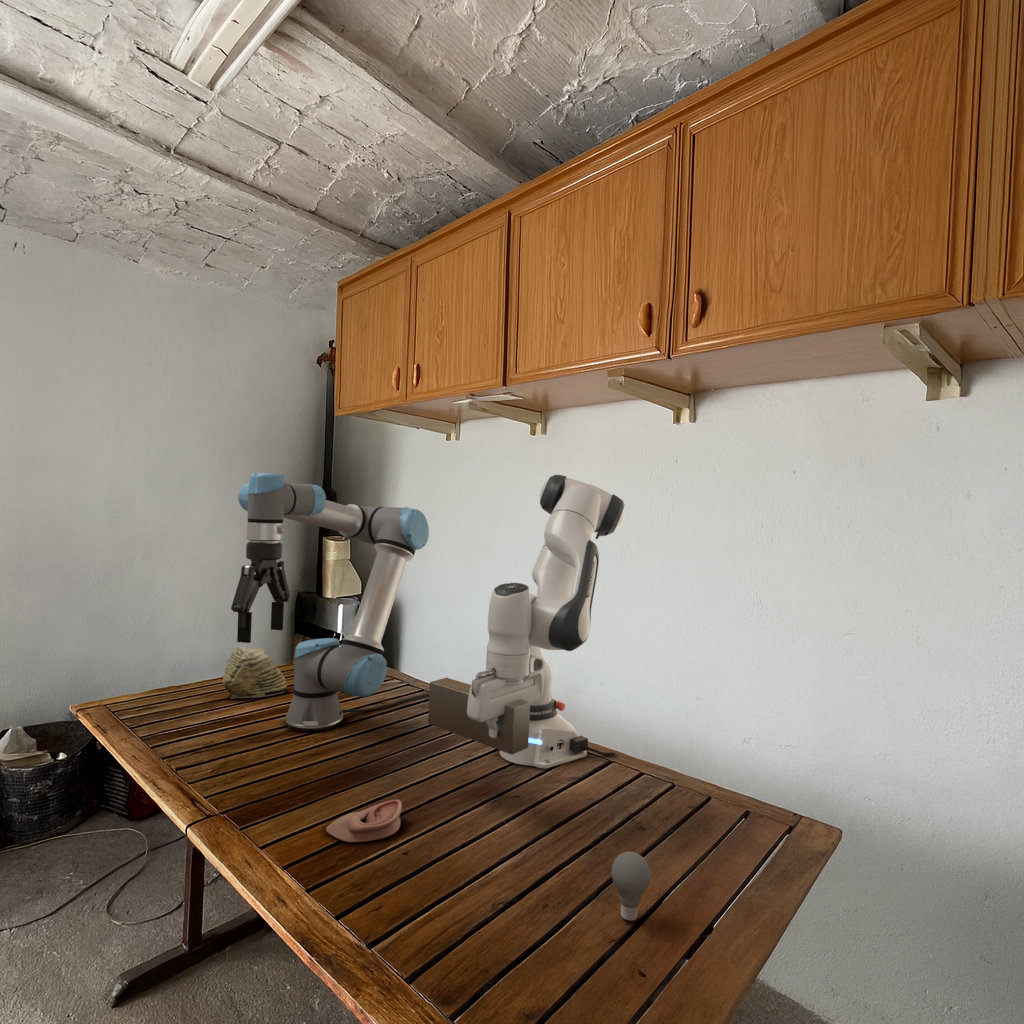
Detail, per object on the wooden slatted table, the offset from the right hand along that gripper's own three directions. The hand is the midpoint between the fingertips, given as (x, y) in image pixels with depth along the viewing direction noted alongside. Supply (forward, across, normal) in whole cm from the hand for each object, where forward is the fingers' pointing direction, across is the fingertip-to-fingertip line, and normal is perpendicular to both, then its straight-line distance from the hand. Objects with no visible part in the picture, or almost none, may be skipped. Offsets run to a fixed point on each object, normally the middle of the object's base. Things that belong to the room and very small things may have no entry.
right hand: (505, 732), depth 128 cm
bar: (+3, 0, +8) cm, 8 cm away
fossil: (+17, +4, +105) cm, 106 cm away
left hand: (-14, -24, +52) cm, 59 cm away
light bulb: (+17, -10, -35) cm, 40 cm away
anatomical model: (+17, -22, +16) cm, 32 cm away
